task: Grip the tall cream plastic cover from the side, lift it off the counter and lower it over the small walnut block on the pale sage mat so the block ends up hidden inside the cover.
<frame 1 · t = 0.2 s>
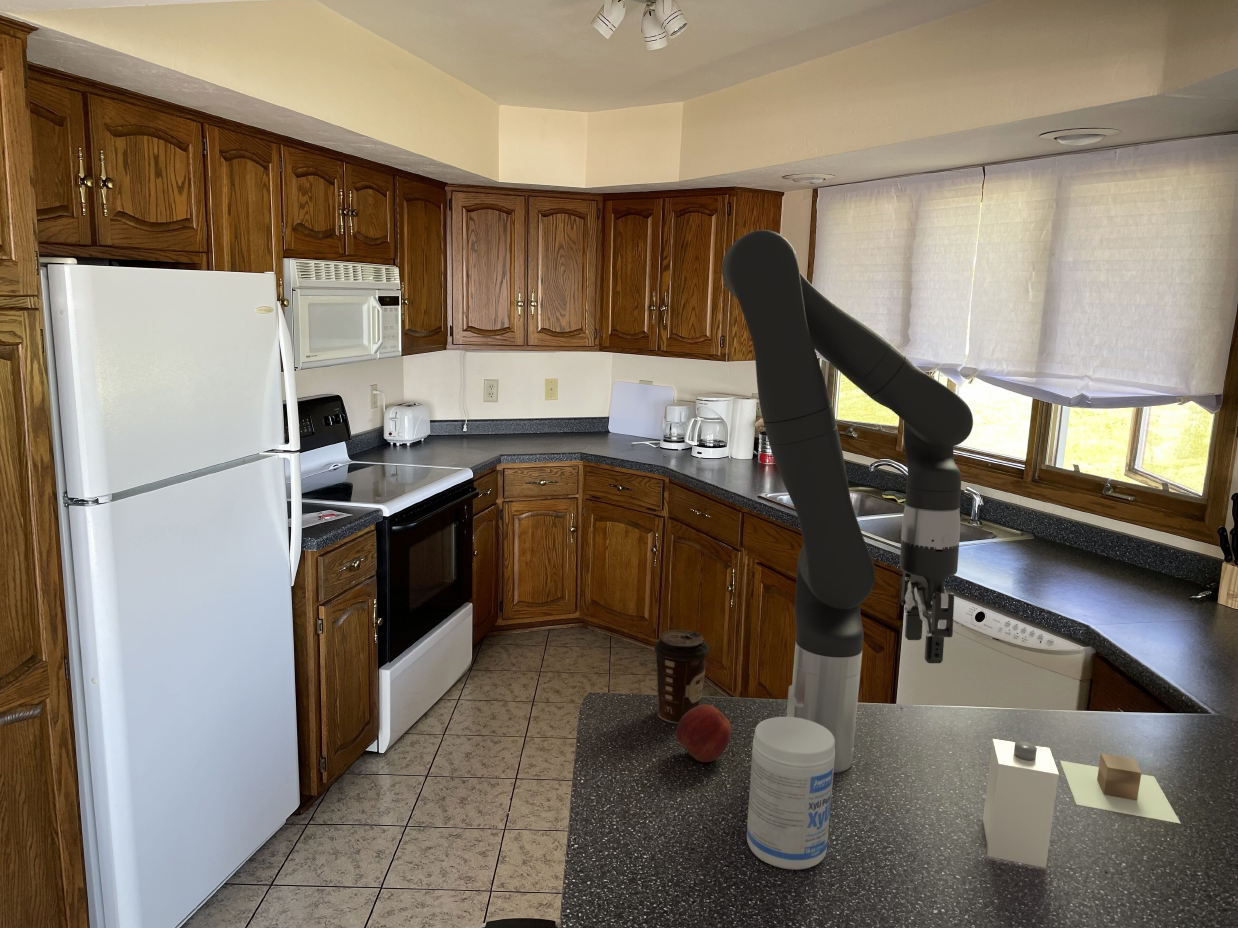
hand: (922, 650, 121), 17 cm above the countertop, tool pointing down, fingers open, 8 cm apart
coffee cup: (678, 716, 136), on the countertop
block: (1116, 789, 117), point 1 cm above the countertop, touching mat
supplement tub: (785, 849, 104), on the countertop
apple: (701, 759, 123), on the countertop
mat: (1115, 796, 118), on the countertop
cover: (1012, 846, 105), on the countertop
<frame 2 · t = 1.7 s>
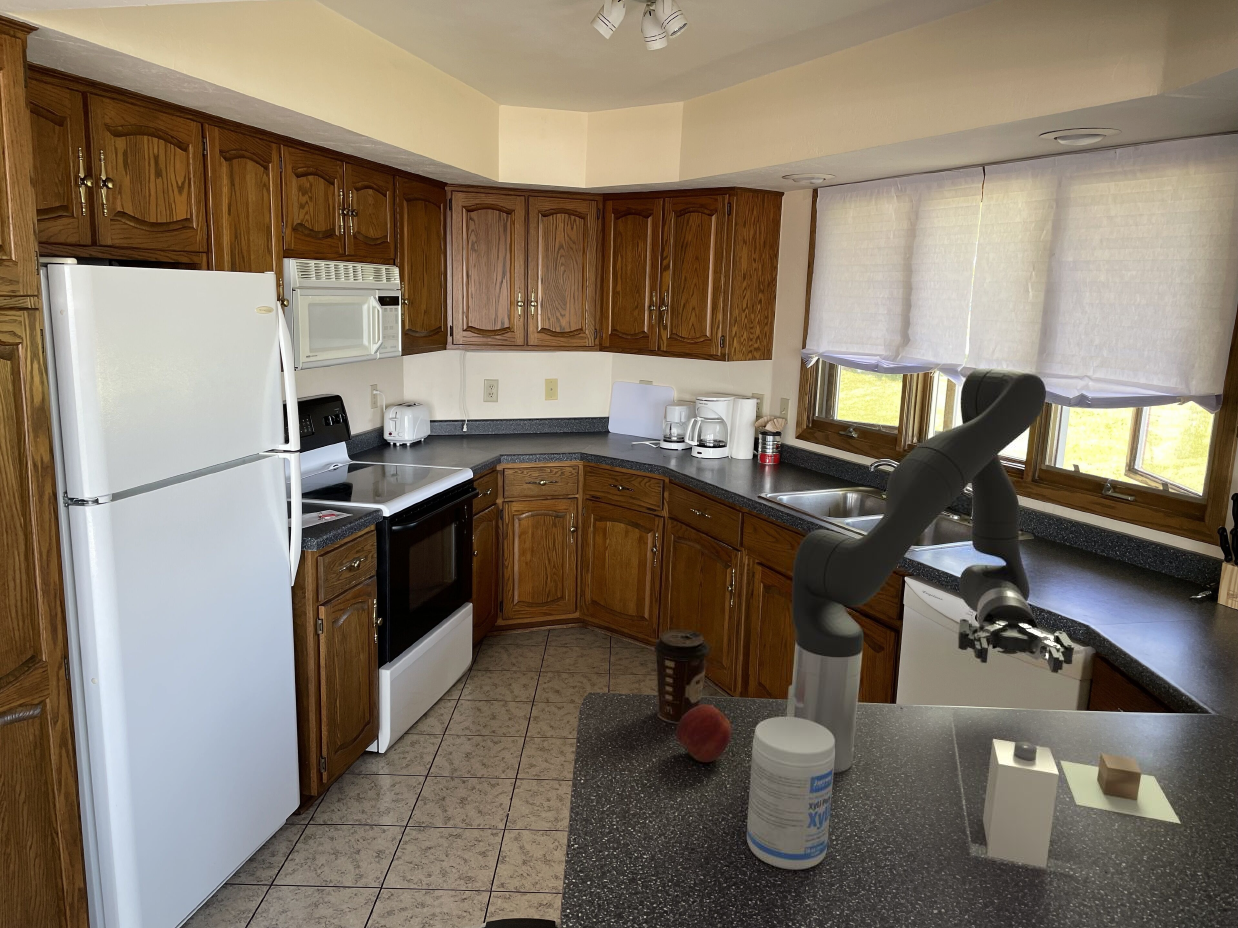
hand: (1020, 660, 112), 20 cm above the countertop, tool horizontal, fingers open, 8 cm apart
nothing on the countertop moved.
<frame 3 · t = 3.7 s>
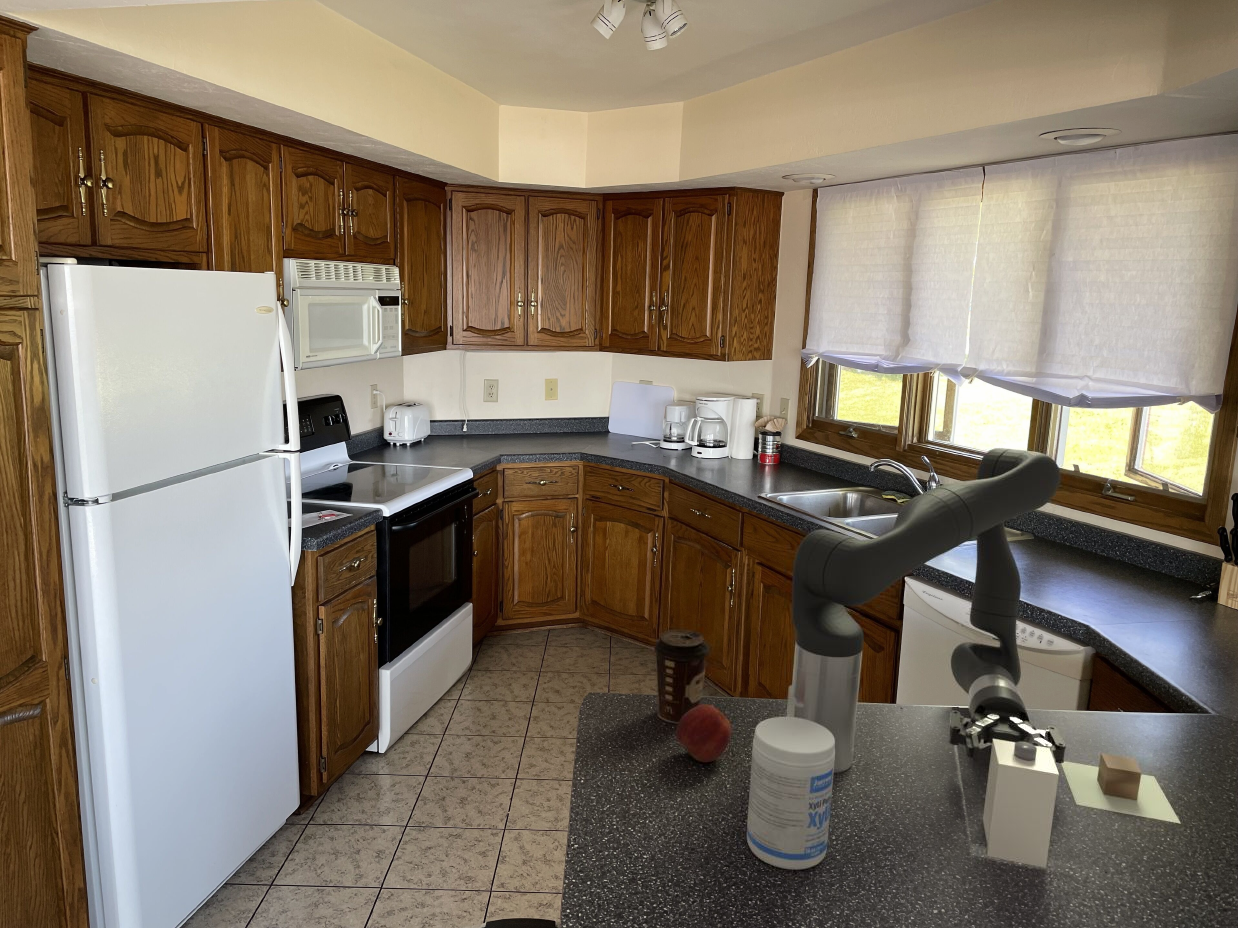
hand: (1011, 761, 112), 7 cm above the countertop, tool horizontal, fingers open, 8 cm apart
nothing on the countertop moved.
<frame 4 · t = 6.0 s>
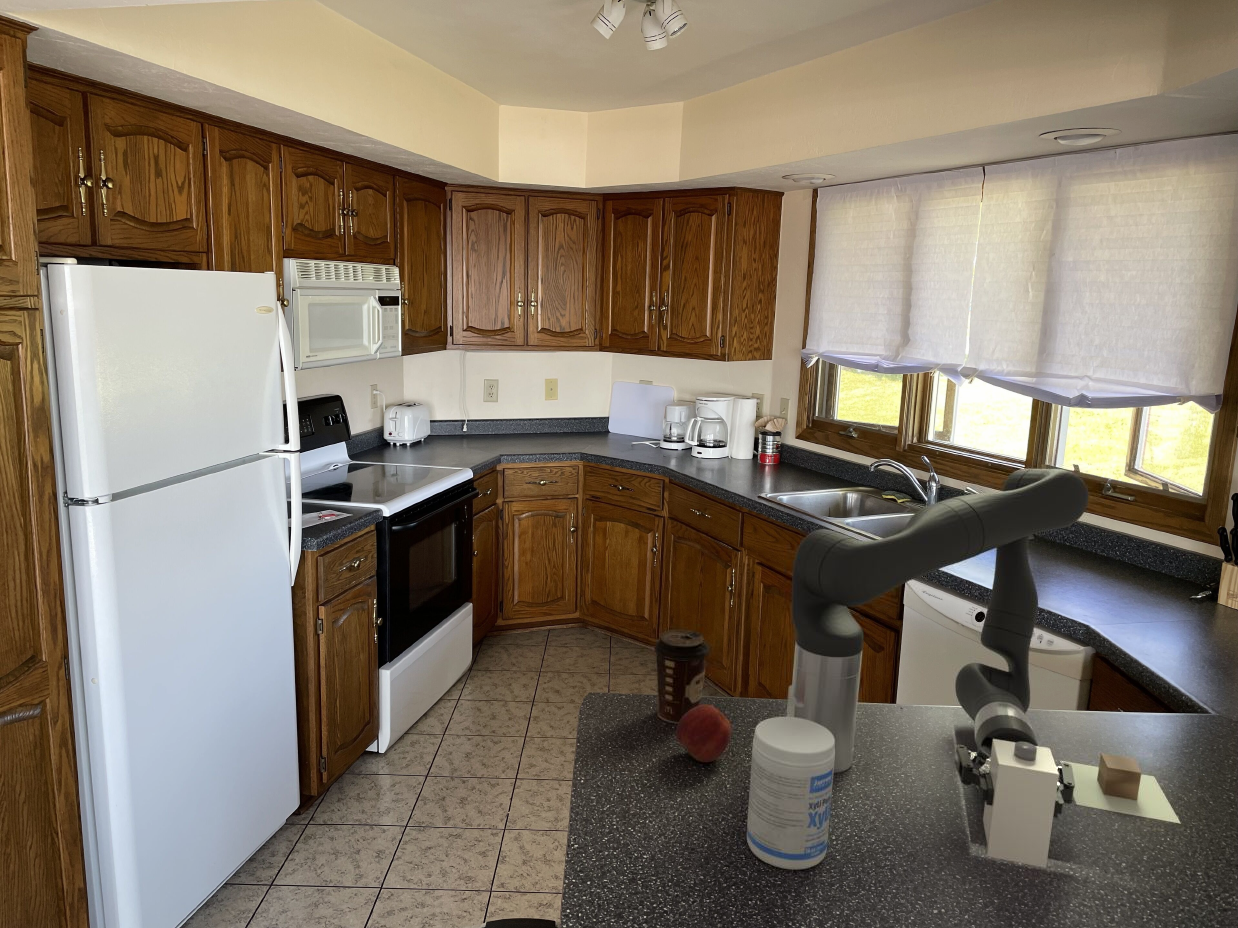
hand: (1022, 803, 102), 7 cm above the countertop, tool horizontal, fingers closed on cover, 6 cm apart
cover: (1012, 846, 105), on the countertop, touching gripper
everything else where it was.
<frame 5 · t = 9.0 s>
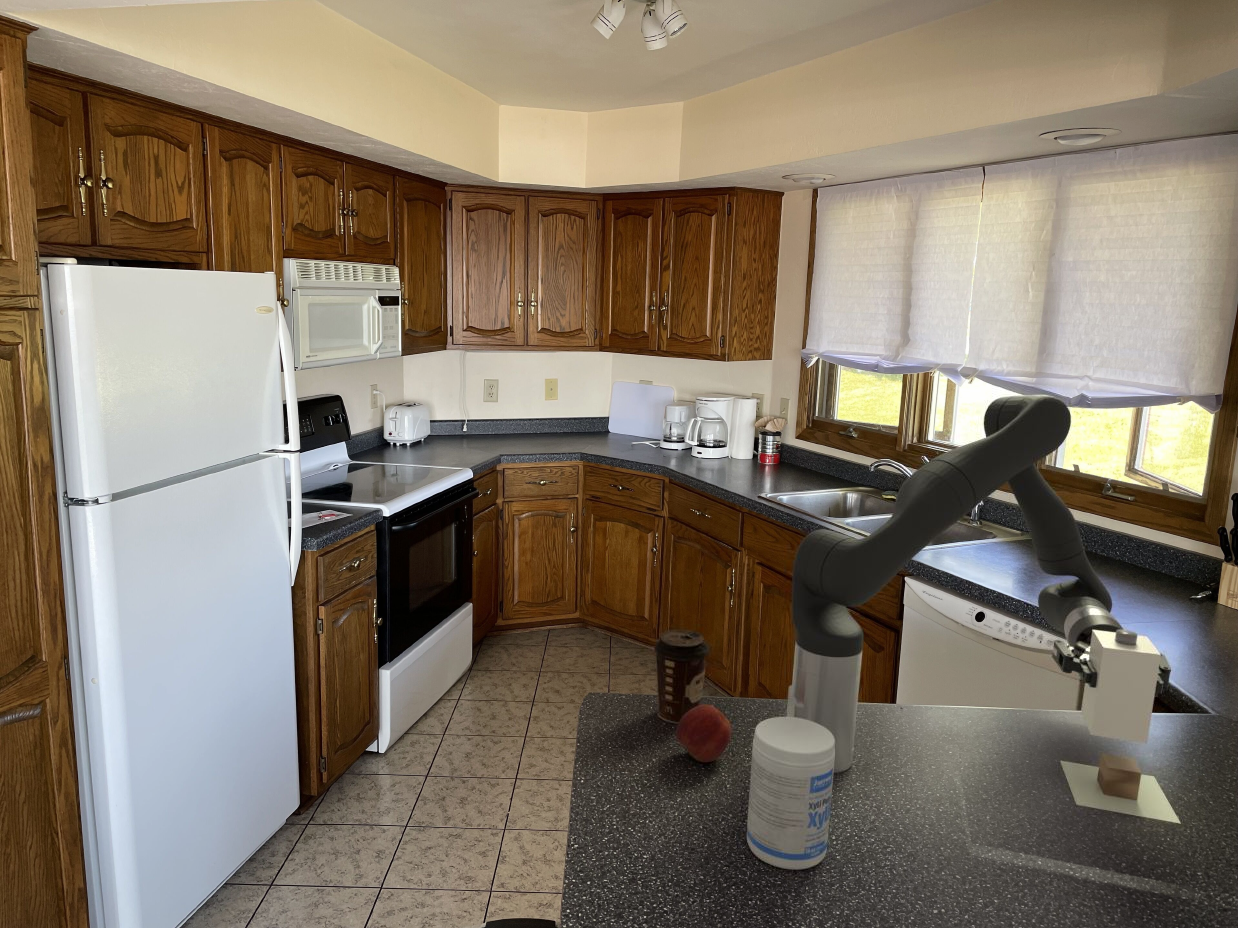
hand: (1124, 684, 110), 18 cm above the countertop, tool horizontal, fingers closed on cover, 6 cm apart
cover: (1112, 727, 114), point 11 cm above the countertop, touching gripper
everything else where it was.
when the fingers open (9 cm above the countertop, at t = 12.1 s): cover stays where it is, resting on mat.
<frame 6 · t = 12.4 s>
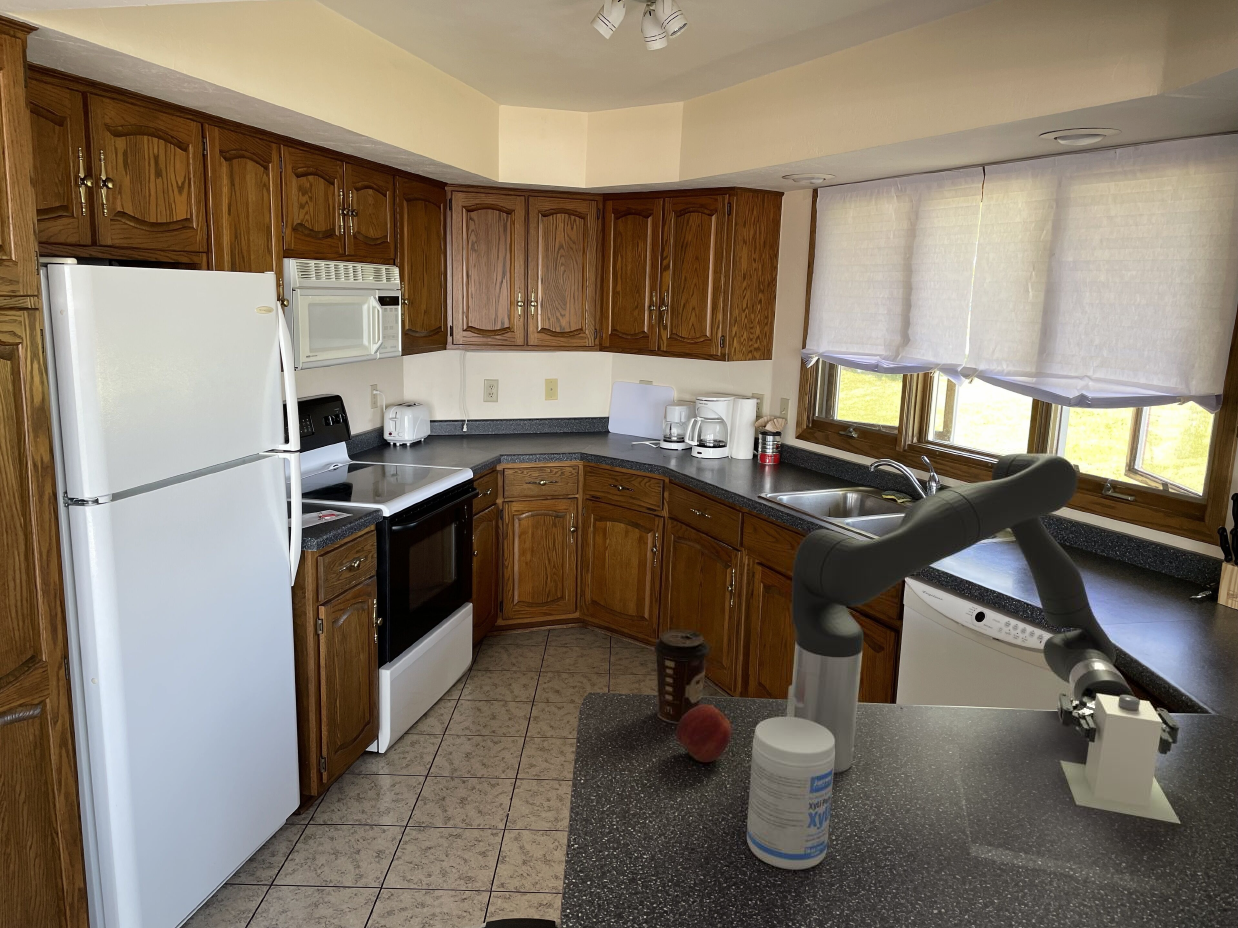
hand: (1128, 741, 114), 9 cm above the countertop, tool horizontal, fingers open, 8 cm apart
cover: (1115, 789, 117), point 1 cm above the countertop, touching mat
everything else where it was.
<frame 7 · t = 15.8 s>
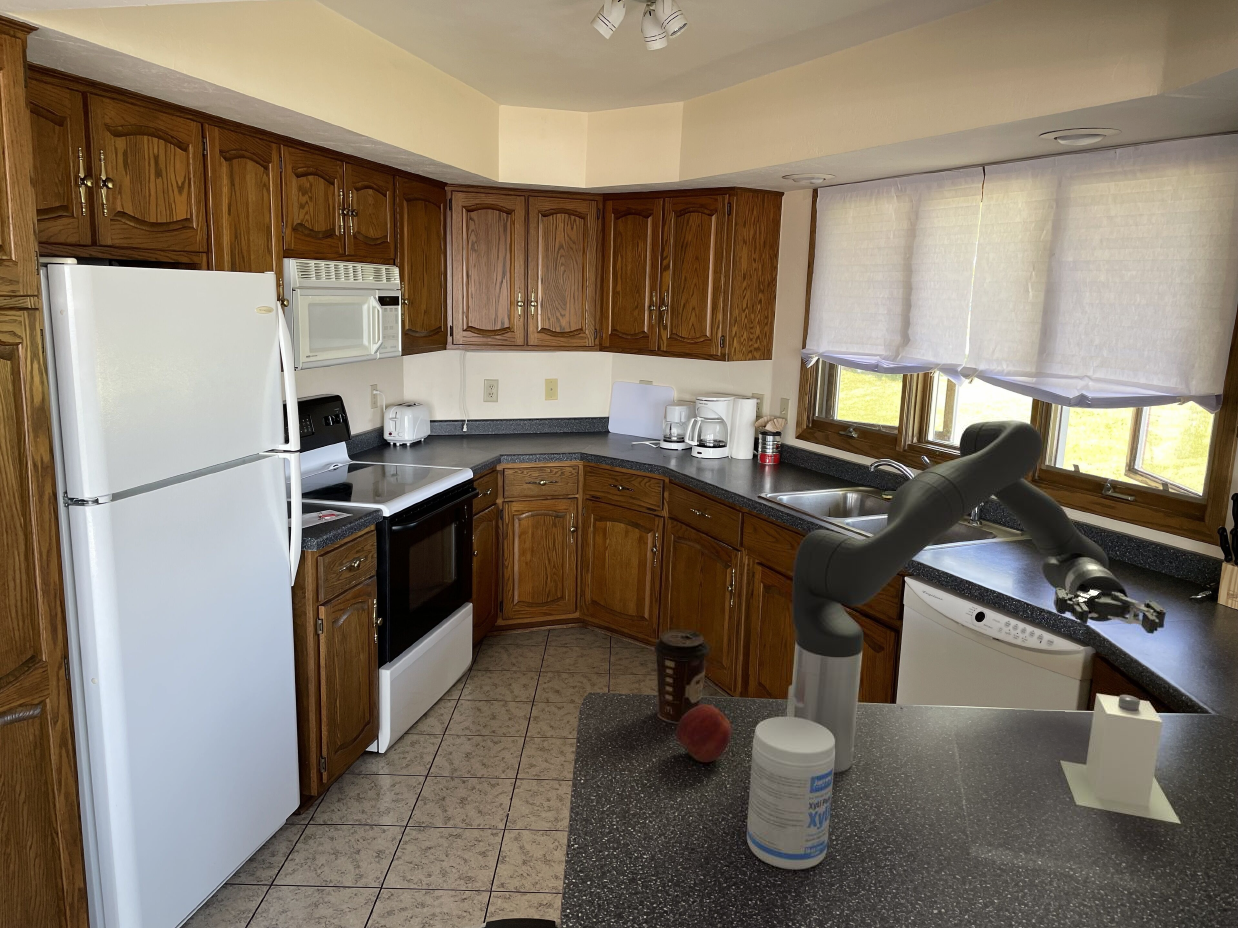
hand: (1118, 622, 124), 21 cm above the countertop, tool horizontal, fingers open, 8 cm apart
nothing on the countertop moved.
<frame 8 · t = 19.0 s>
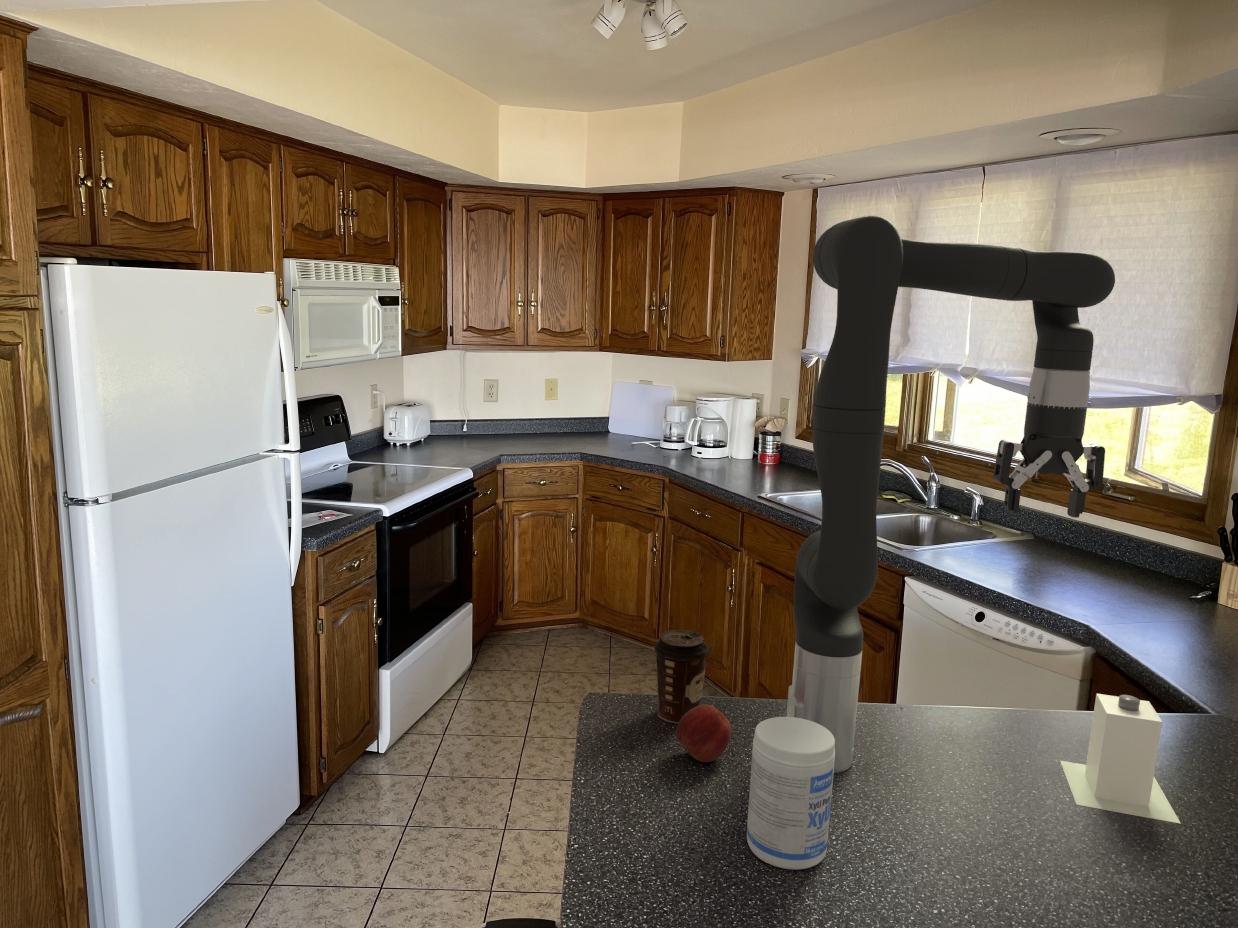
hand: (1042, 514, 123), 36 cm above the countertop, tool pointing down, fingers open, 8 cm apart
nothing on the countertop moved.
at the end: cover 0.1 cm from the block (horizontally); cover point 1.0 cm above the countertop; the gripper is holding nothing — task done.
